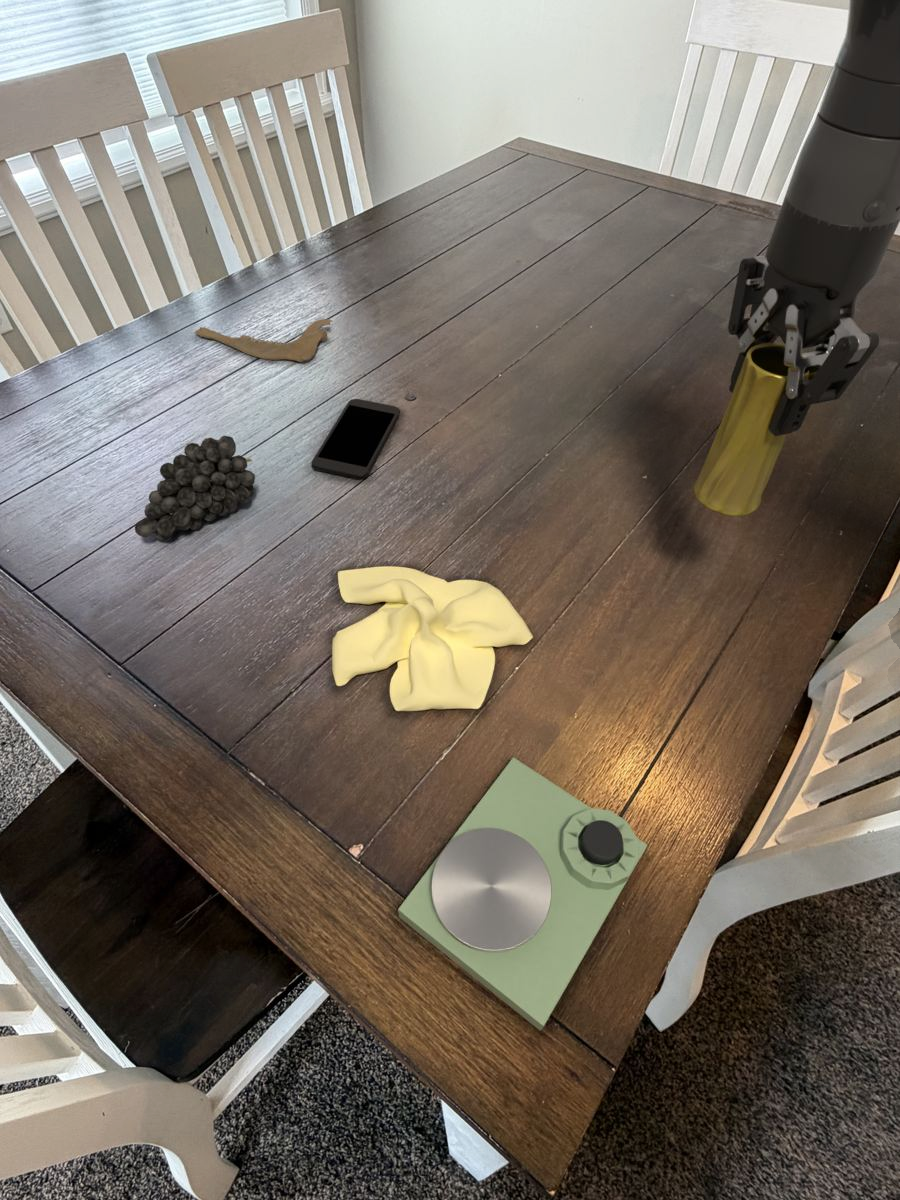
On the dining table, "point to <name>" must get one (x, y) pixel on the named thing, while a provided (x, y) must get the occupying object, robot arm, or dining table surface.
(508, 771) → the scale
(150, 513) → the fruit
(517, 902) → the weighing plate
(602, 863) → the button
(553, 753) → the dining table surface
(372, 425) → the smartphone
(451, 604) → the cloth
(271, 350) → the jawbone
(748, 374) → the vase
